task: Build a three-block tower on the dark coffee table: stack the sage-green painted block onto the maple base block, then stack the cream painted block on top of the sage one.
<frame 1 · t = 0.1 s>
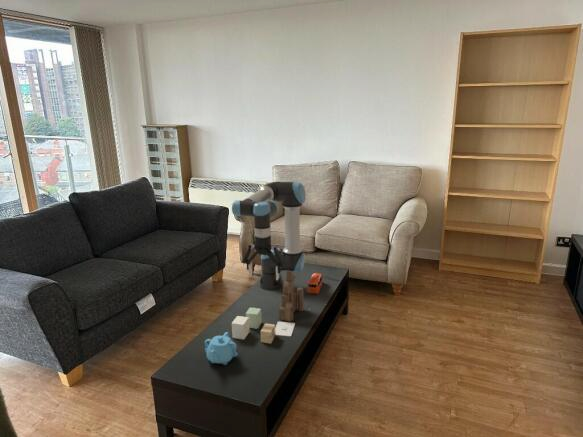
hand: (264, 277, 194), 28 cm above the table, fingers open, 13 cm apart
wooden toy: (292, 314, 215), on the table
teapot: (220, 360, 178), on the table
cream block: (241, 334, 197), on the table
toy bus: (315, 288, 245), on the table
instruction page: (284, 329, 201), on the table
maple base block: (268, 338, 193), on the table
sage block: (254, 325, 205), on the table
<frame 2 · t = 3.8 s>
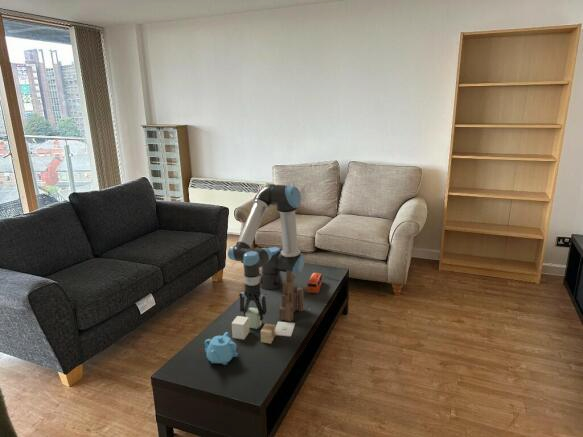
hand: (253, 324, 205), 0 cm above the table, fingers closed on sage block, 6 cm apart
sage block: (254, 324, 205), on the table, touching gripper
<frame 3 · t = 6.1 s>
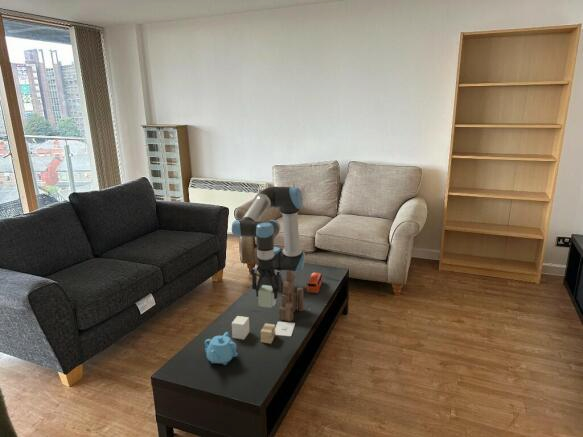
hand: (267, 303, 188), 19 cm above the table, fingers closed on sage block, 6 cm apart
sage block: (267, 304, 188), point 18 cm above the table, touching gripper
when the fingers open (7 cm above the table, at t = 8.4 s): sage block drops 1 cm, resting on maple base block.
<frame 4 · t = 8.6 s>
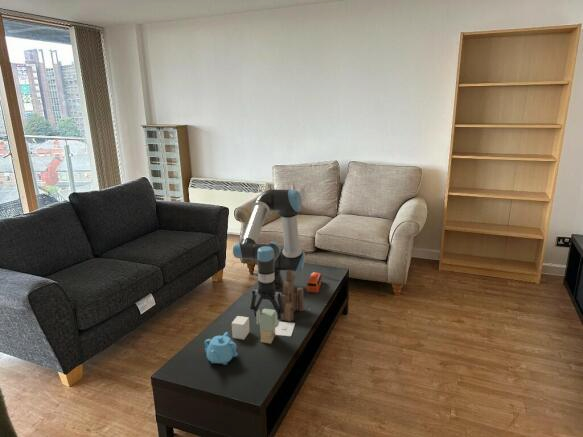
hand: (267, 323, 191), 8 cm above the table, fingers open, 9 cm apart
maple base block: (268, 338, 193), on the table, touching sage block
sage block: (268, 327, 192), point 6 cm above the table, touching maple base block
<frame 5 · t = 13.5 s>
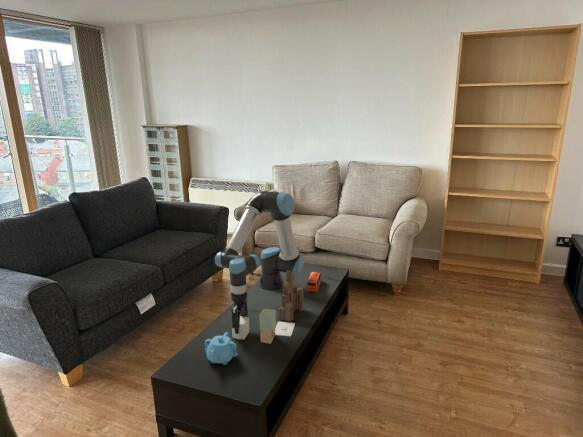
hand: (241, 334, 197), 0 cm above the table, fingers closed on cream block, 7 cm apart
cream block: (241, 334, 197), on the table, touching gripper
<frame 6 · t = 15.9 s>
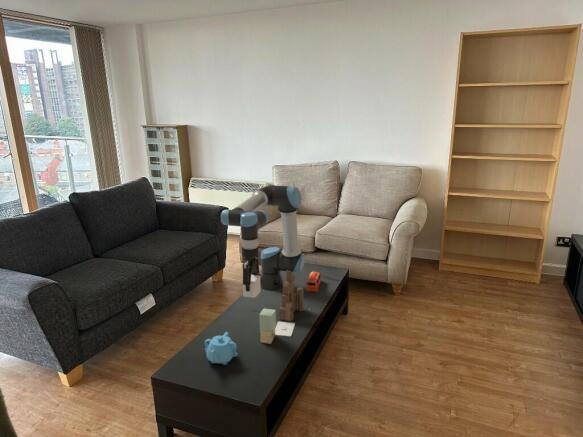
hand: (252, 293, 189), 23 cm above the table, fingers closed on cream block, 7 cm apart
cream block: (251, 293, 189), point 23 cm above the table, touching gripper
when the fingers open (16 cm above the table, at t = 18.1 s): cream block drops 1 cm, resting on sage block.
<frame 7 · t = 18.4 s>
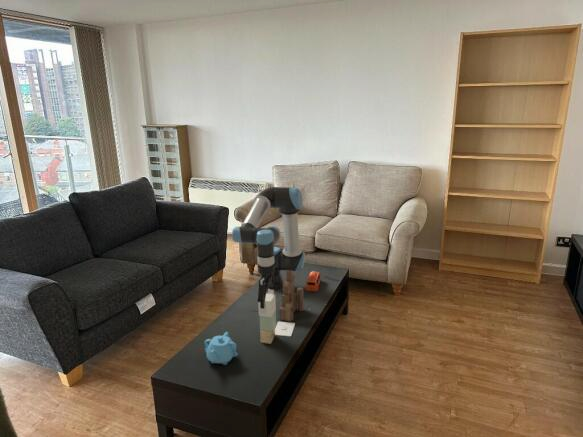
hand: (267, 307, 189), 16 cm above the table, fingers open, 11 cm apart
cream block: (267, 312, 189), point 14 cm above the table, touching sage block
sage block: (268, 327, 192), point 6 cm above the table, touching cream block, maple base block
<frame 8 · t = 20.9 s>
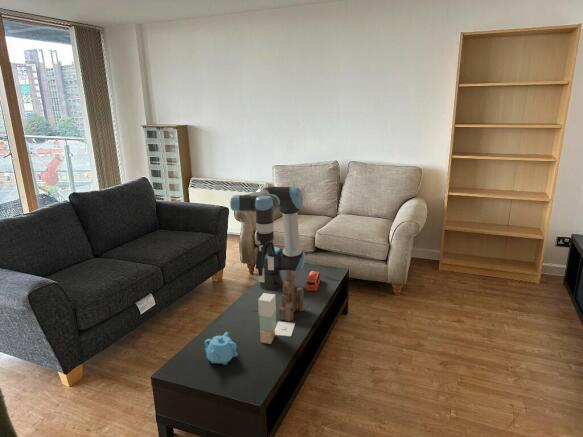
hand: (266, 275, 184), 33 cm above the table, fingers open, 13 cm apart
at the end: sage block 0.7 cm off-centre on the maple base block, point 6.0 cm above the maple base block's base; cream block 0.3 cm off-centre on the maple base block, point 14.0 cm above the maple base block's base; cream block tilted 0° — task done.
